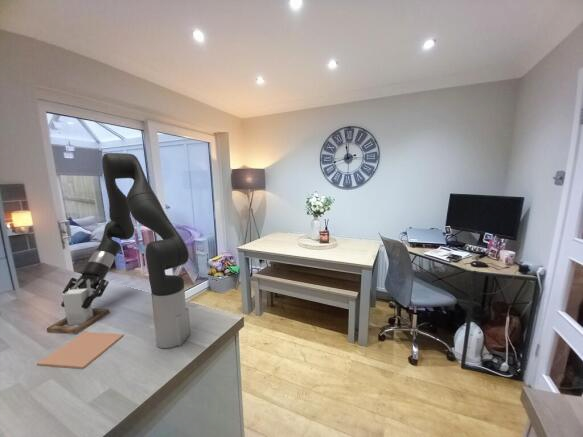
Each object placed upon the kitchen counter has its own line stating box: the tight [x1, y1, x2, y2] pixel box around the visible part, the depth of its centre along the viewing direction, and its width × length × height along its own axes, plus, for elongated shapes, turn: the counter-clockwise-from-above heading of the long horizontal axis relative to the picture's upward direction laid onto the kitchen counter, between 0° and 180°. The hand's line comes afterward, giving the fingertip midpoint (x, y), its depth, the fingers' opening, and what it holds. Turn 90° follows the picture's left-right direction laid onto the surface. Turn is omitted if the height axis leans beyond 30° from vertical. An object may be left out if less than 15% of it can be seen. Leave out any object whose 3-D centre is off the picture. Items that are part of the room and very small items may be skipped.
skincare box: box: [61, 288, 94, 326], centre depth 85 cm, size 6×4×12 cm
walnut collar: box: [46, 308, 110, 335], centre depth 86 cm, size 11×13×2 cm
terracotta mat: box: [36, 331, 125, 370], centre depth 72 cm, size 14×14×1 cm
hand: (74, 307), depth 84 cm, fingers open, 7 cm apart
